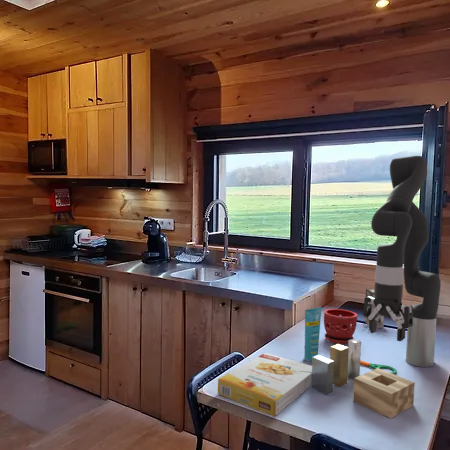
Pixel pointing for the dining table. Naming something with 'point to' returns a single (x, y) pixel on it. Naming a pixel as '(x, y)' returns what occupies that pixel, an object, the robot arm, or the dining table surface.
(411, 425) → the dining table surface
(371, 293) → the coffee box
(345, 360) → the square bit
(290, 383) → the cereal box
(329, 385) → the brushed grey-blue block
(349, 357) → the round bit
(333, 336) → the plant pot
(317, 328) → the tube
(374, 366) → the magnifying glass
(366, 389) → the socket block
